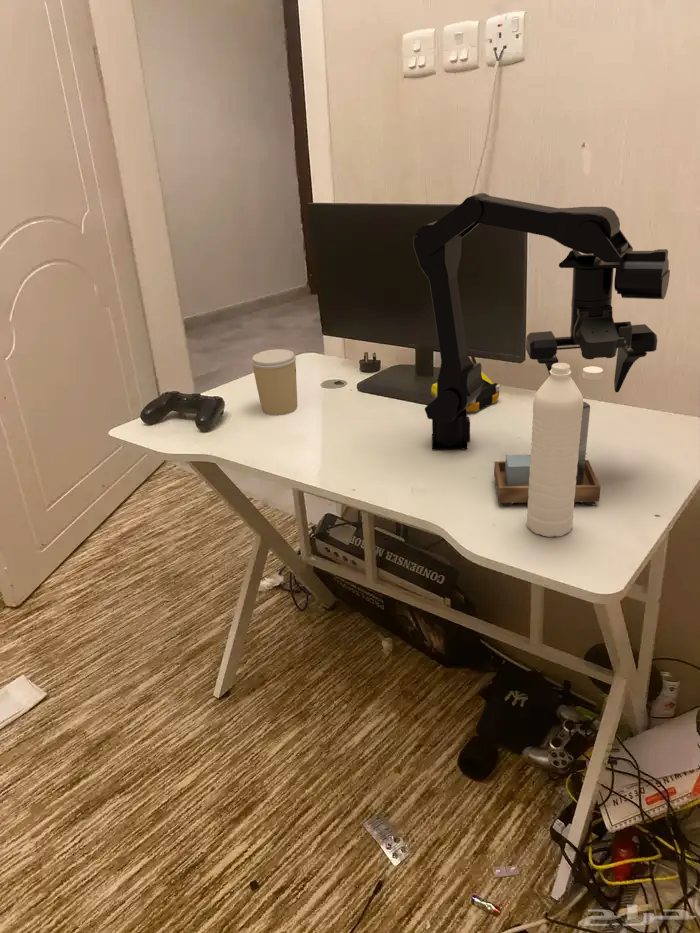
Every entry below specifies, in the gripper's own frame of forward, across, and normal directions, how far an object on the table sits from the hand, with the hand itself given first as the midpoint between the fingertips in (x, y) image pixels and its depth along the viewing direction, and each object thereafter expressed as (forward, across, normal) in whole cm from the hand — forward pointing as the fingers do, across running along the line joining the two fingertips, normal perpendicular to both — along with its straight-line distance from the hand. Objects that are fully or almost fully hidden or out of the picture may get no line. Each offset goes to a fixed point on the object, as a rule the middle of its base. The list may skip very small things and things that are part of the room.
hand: (586, 393), depth 112 cm
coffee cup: (+11, -58, +30) cm, 66 cm away
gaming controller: (+13, -18, +30) cm, 37 cm away
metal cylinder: (+12, -4, -8) cm, 15 cm away
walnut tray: (+13, -8, -8) cm, 17 cm away
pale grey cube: (+11, -12, -8) cm, 18 cm away
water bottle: (+14, -8, -19) cm, 24 cm away
